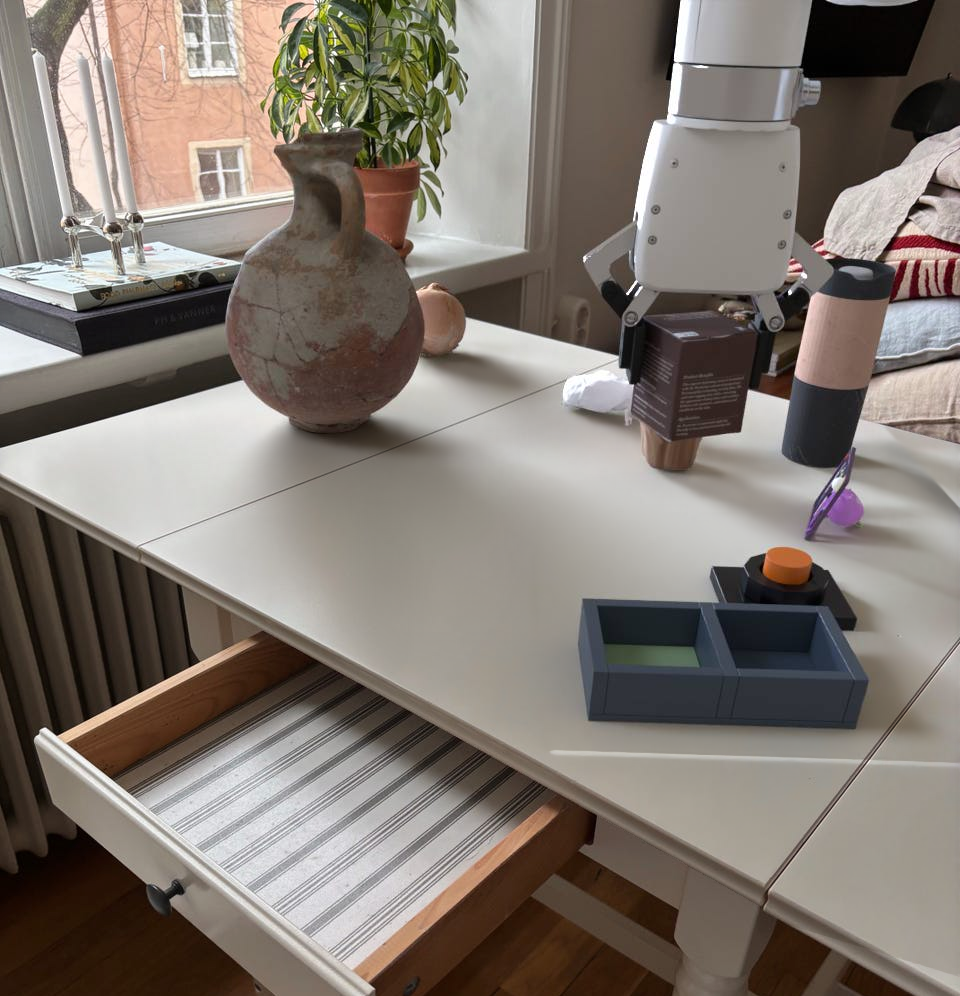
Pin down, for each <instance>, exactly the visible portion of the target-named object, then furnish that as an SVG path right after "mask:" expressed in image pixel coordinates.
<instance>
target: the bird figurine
mask: <svg viewBox="0 0 960 996" xmlns="http://www.w3.org/2000/svg"><path fill="white" fill-rule="evenodd" d="M633 387H634V385H629V381H628V379H626V378H621V377H619V376H618V375H616V373H614V372H611V371H609V370H607V369H601V370H598V371H596V372H595V373H592V374H585V373H584V374H580V375H574V376H572V377H570V378H567V380H566V382H565V384H564V387H563V390H562V398H563V401H562V402H561V405H563V406H564V407H570V406H571V407H574V408H578V409H585V410H587V411H592V412H596V413H607V412H610V411H612V412H622V411H625V413H624V422H625V423H624V426H627V427H629V425H632V420H633V419H634V420H637V419H636V418H635V417H633V416H632V414H631V404H632V396H633Z"/></svg>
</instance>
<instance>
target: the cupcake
mask: <svg viewBox="0 0 960 996" xmlns="http://www.w3.org/2000/svg"><path fill="white" fill-rule="evenodd" d="M638 422H639V425H640V436H641V437H640V438H641V453H642V455H643V456H644V458H645V461H646V463H647V464H648V465H649V466H650V467H651V468H653V469H657V470H672V471H688V470H689V469H691V468H692V467H693V465H694V463H695V461H696V458H697V453H698V451H699V448H700V444H701V441H702V440H703V437H700V438H693V439H687V440H679V441H673V442H668V441H666V440H665V439H664V438H662V437H661V436H660V435H659V434H657V433H656V432H655V431H654V430H652V429H651V428H649V427H648V426H647V425H645V424H644V423H642V422H640V421H639V420H638Z"/></svg>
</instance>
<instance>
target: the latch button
mask: <svg viewBox="0 0 960 996" xmlns="http://www.w3.org/2000/svg"><path fill="white" fill-rule="evenodd" d="M765 553H766V557H765V562H764V567H763V571H762V572H763V575H764V576H766V577H767V578H769V579H770V580H772V581H775V582H779V583H783V584H796V585H800V584H804V583H806V582H807V581H808V578H809V574H810V570H811V566H812V562H813V558H812V556H811V555H810V554H808V553H807V552H806V551H803V550H801V549H798V548H795V547H790V546H775V547H772V548H769V549H768V550H767V551H766V552H765Z"/></svg>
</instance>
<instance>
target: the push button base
mask: <svg viewBox="0 0 960 996" xmlns="http://www.w3.org/2000/svg"><path fill="white" fill-rule="evenodd" d="M766 553H767V552H764V553H760V554H756V555H752V556H750V557H749V558H748V559H747V560H746V562H745V563H744V565H743V566H724V565H723V566H719V565H712V566H711V567H710V572H709V580H710V582H711V586H712V588H713V590H714V593H715V596H716V599H717V601H718V603H742V604H773V605H804V606H828V607H829V609H830V611H831V613H832V615H833V616H834V618H835V620H836V622H837V623H838V625H839V627H840V629H841V631H842V632H843V631H846V632H847V631H848V632H854V631H855V628H856V626H857V621H858V617H857V615H856V614H855V612H854V610H853V609H852V607H851V606H850V604H849V602H848V601H847V599H846V597H845V595H844V594H843V592H842V589H840V587H839V585H838V584H837V582H836V581H835V580H836V579H834V577H833V575H832V574H831V572H830V570H829V569H824V567H822V566H821V565H819V564H817V563H815V562H813V561H812V566H811V570H810V574H809V578H808V581H807V582H806V583H804V584H800V585H796V584H783V583H779V582H775V581H772V580H770V579H769V578H767V577H766V576H764V575H763V572H762V571H763V567H764V562H765V557H766Z"/></svg>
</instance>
